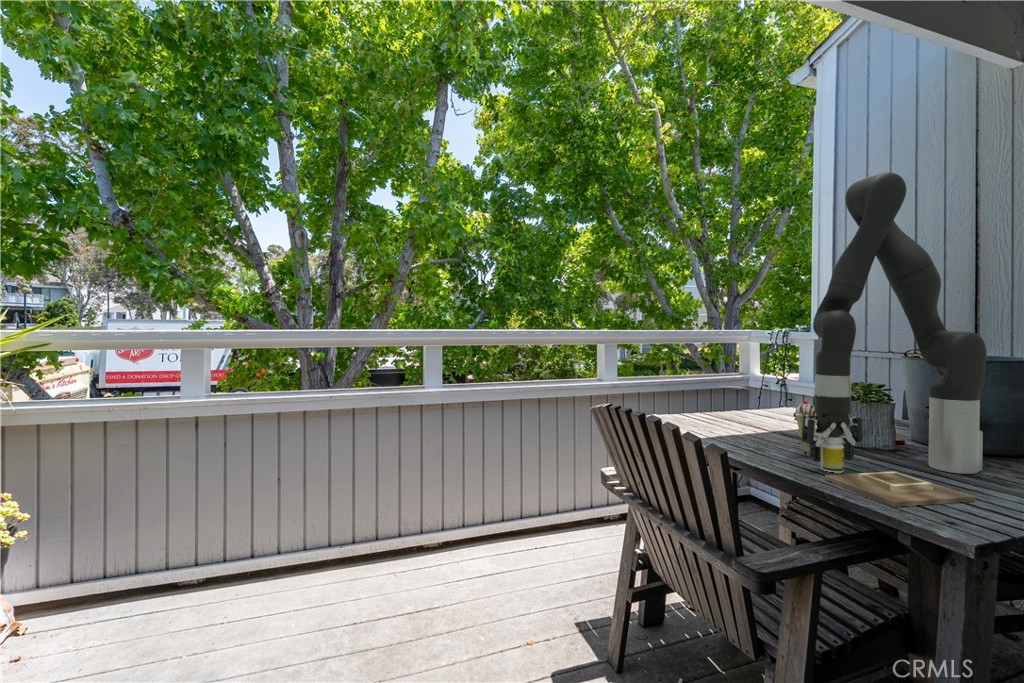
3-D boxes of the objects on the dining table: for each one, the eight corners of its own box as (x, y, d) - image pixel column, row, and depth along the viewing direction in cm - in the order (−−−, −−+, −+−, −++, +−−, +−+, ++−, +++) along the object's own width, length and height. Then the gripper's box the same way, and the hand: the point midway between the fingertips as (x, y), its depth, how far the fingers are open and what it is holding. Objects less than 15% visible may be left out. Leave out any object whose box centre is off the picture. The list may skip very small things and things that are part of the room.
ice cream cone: (822, 459, 134) (822, 402, 133) (800, 459, 134) (800, 402, 133) (809, 454, 139) (810, 399, 139) (788, 454, 139) (789, 399, 139)
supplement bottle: (847, 474, 120) (847, 438, 120) (825, 473, 121) (825, 438, 121) (838, 468, 125) (838, 434, 125) (817, 467, 126) (817, 434, 126)
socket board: (894, 475, 119) (894, 464, 119) (974, 501, 101) (974, 489, 101) (824, 479, 116) (824, 468, 116) (894, 507, 98) (894, 494, 98)
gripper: (846, 391, 127) (845, 455, 128) (794, 392, 125) (794, 457, 126) (872, 395, 120) (870, 463, 120) (817, 396, 118) (816, 466, 118)
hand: (831, 460), depth 123 cm, fingers open, 8 cm apart
